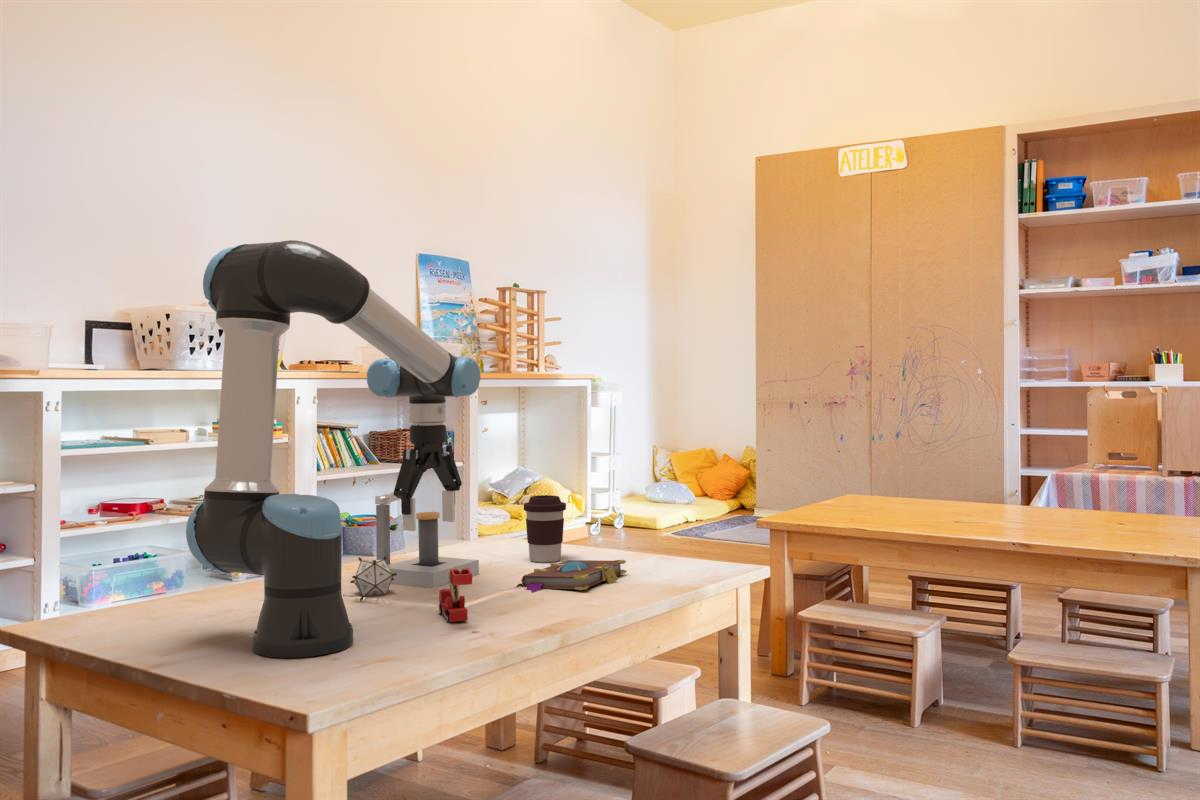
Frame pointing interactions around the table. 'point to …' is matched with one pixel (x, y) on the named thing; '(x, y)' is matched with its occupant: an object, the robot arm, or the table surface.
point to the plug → (428, 538)
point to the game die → (373, 577)
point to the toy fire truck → (454, 596)
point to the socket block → (429, 571)
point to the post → (383, 532)
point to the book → (573, 575)
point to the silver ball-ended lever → (386, 499)
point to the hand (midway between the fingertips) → (429, 525)
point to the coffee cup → (544, 527)
